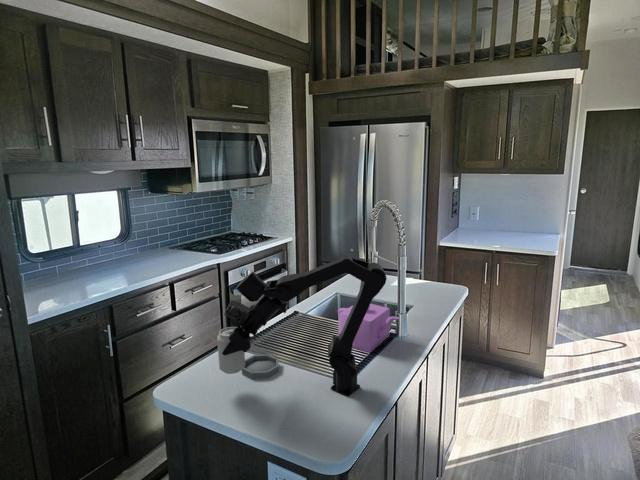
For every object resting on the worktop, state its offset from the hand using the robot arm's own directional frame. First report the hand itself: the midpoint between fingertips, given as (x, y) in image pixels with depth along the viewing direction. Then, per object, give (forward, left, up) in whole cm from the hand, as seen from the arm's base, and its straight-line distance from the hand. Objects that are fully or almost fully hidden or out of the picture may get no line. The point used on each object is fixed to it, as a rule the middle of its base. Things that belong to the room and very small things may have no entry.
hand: (226, 347), depth 123 cm
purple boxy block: (-15, -52, -14) cm, 56 cm away
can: (-1, -1, -7) cm, 7 cm away
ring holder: (+1, -14, -13) cm, 19 cm away
